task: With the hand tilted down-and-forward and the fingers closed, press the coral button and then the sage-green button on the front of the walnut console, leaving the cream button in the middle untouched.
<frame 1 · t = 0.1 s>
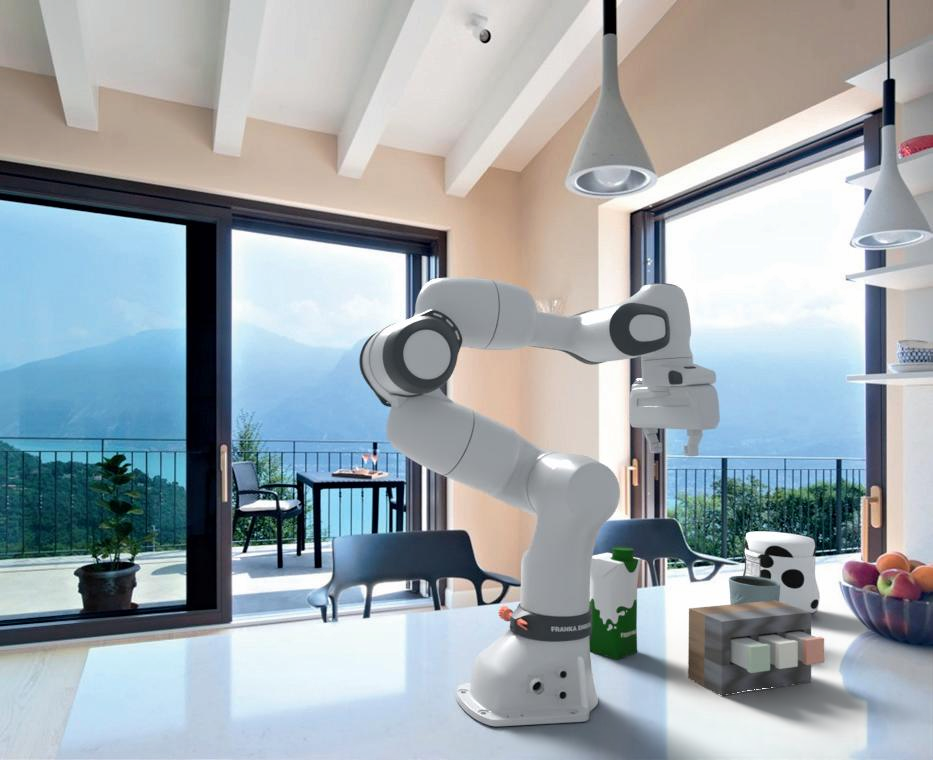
hand: (673, 454, 118), 39 cm above the kitchen island, tool pointing down, fingers open, 8 cm apart
console: (749, 680, 117), on the kitchen island
coral button: (803, 646, 115), point 7 cm above the kitchen island, slide at 0.0 cm
sage button: (749, 653, 110), point 7 cm above the kitchen island, slide at 0.0 cm
blue-grey cup: (753, 639, 141), on the kitchen island
milk carton: (611, 652, 130), on the kitchen island
milk container: (779, 612, 162), on the kitchen island
cream button: (776, 650, 112), point 7 cm above the kitchen island, slide at 0.0 cm
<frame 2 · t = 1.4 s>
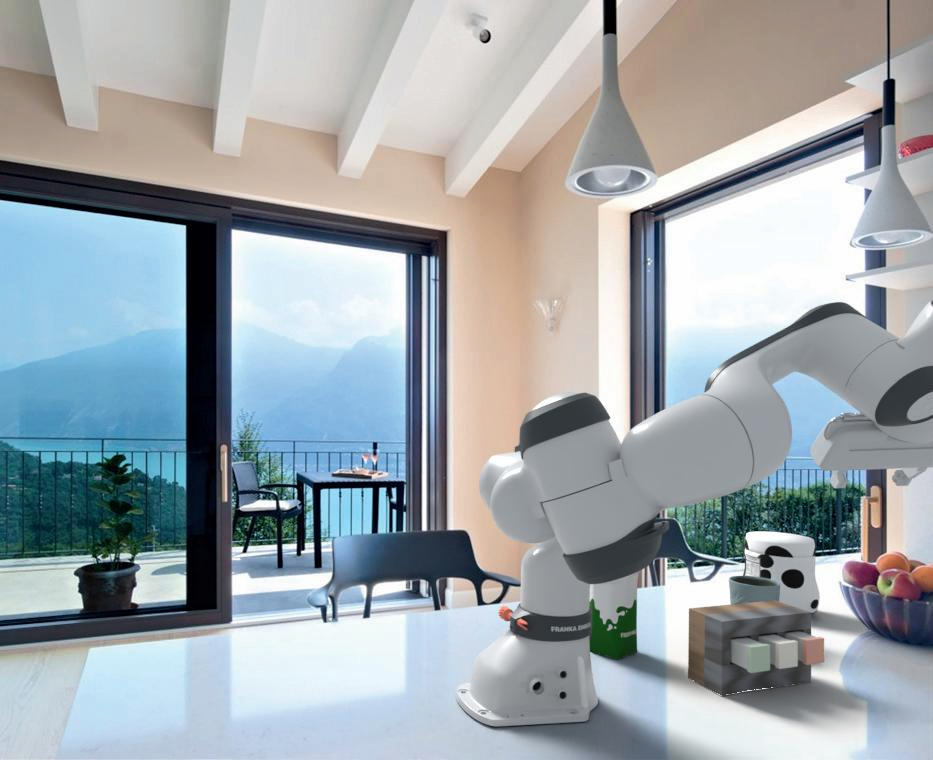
hand: (868, 483, 98), 36 cm above the kitchen island, tool tilted 40°, fingers open, 8 cm apart
nothing on the kitchen island moved.
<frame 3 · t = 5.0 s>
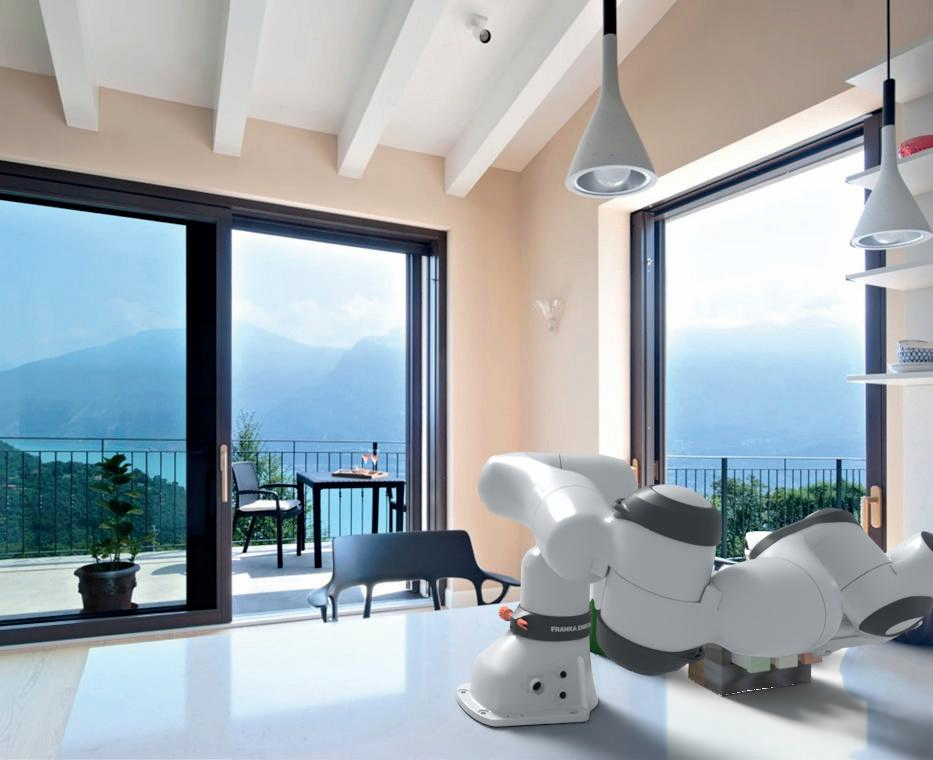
hand: (817, 653, 112), 7 cm above the kitchen island, tool tilted 45°, fingers closed, pressing on coral button
coral button: (801, 646, 115), point 7 cm above the kitchen island, slide at 0.3 cm, touching gripper
everything else where it was.
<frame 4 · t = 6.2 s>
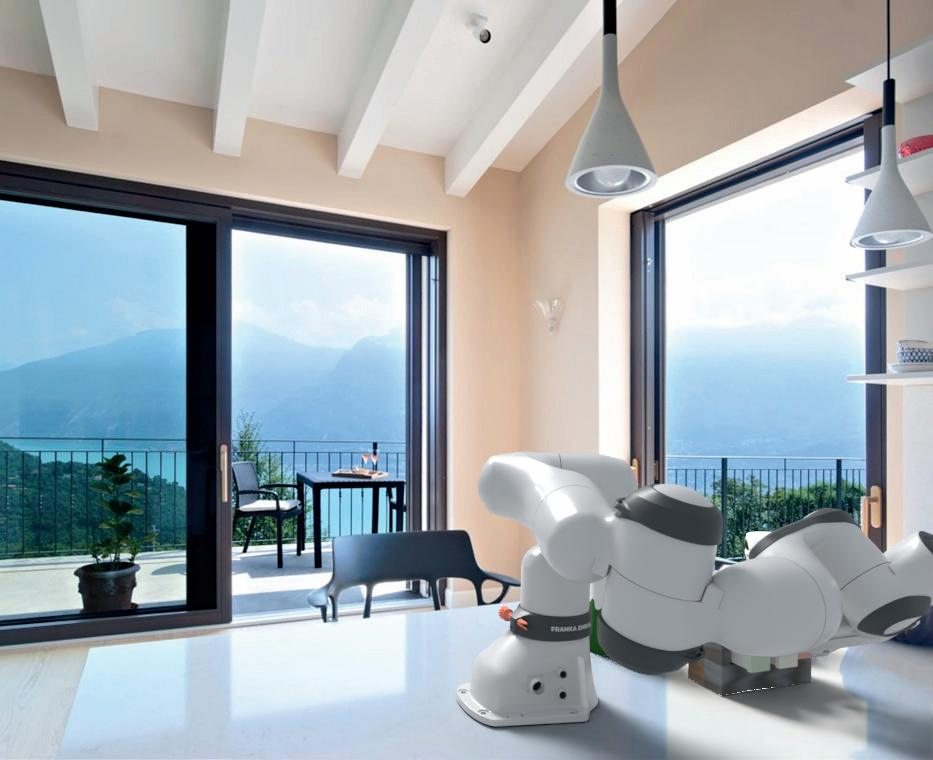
hand: (815, 652, 112), 7 cm above the kitchen island, tool tilted 45°, fingers closed
coral button: (791, 642, 117), point 7 cm above the kitchen island, slide at 2.5 cm
everything else where it was.
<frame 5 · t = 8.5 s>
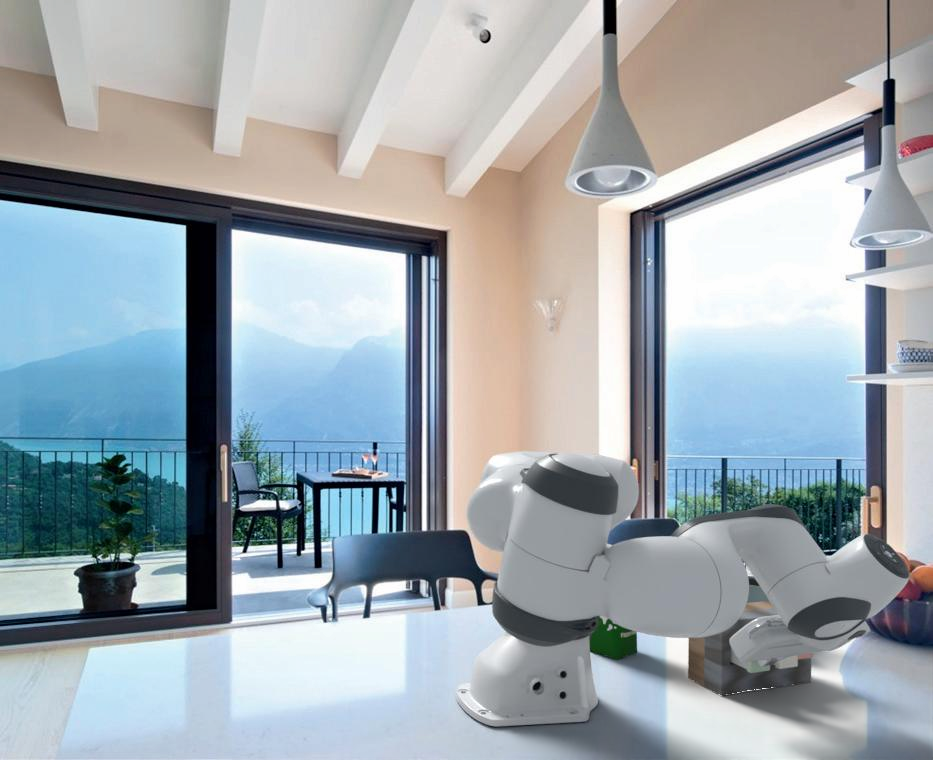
hand: (764, 661, 107), 7 cm above the kitchen island, tool tilted 45°, fingers closed, pressing on sage button
sage button: (749, 653, 110), point 7 cm above the kitchen island, slide at 0.0 cm, touching gripper
everything else where it was.
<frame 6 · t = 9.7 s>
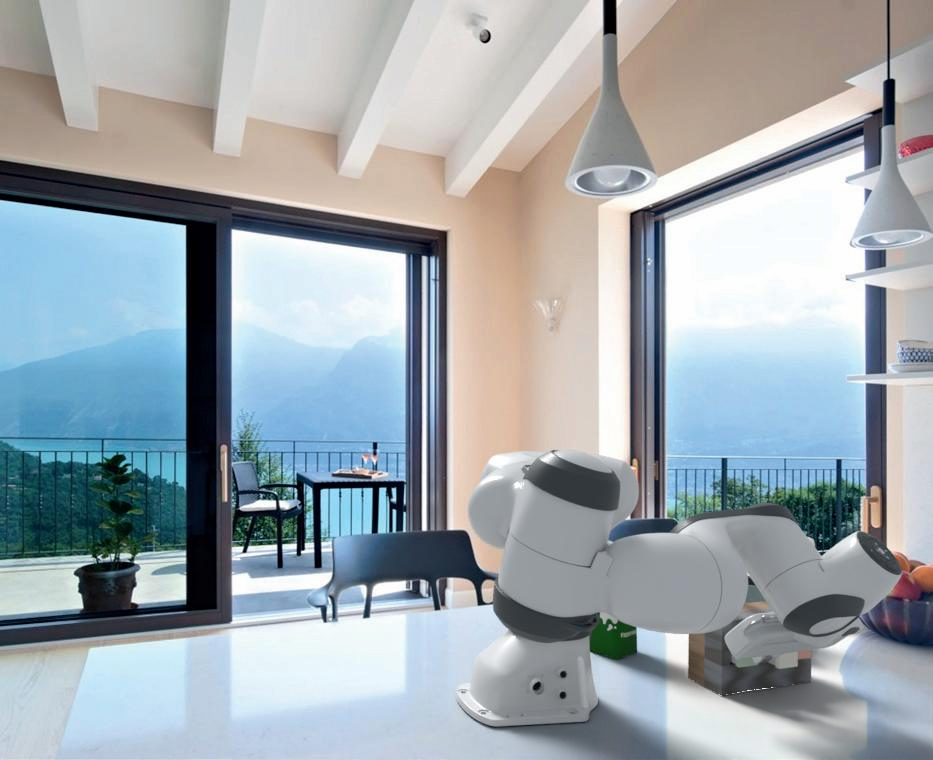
hand: (759, 658, 108), 7 cm above the kitchen island, tool tilted 45°, fingers closed
sage button: (737, 649, 112), point 7 cm above the kitchen island, slide at 2.5 cm
everything else where it was.
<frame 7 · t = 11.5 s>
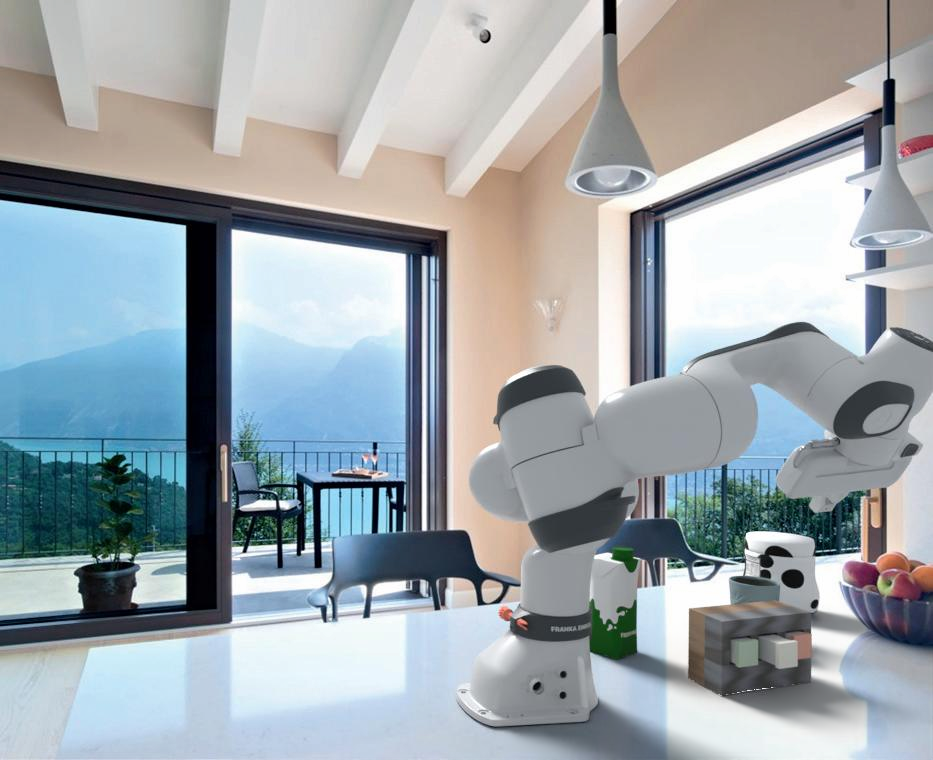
hand: (819, 509, 101), 32 cm above the kitchen island, tool tilted 35°, fingers closed
nothing on the kitchen island moved.
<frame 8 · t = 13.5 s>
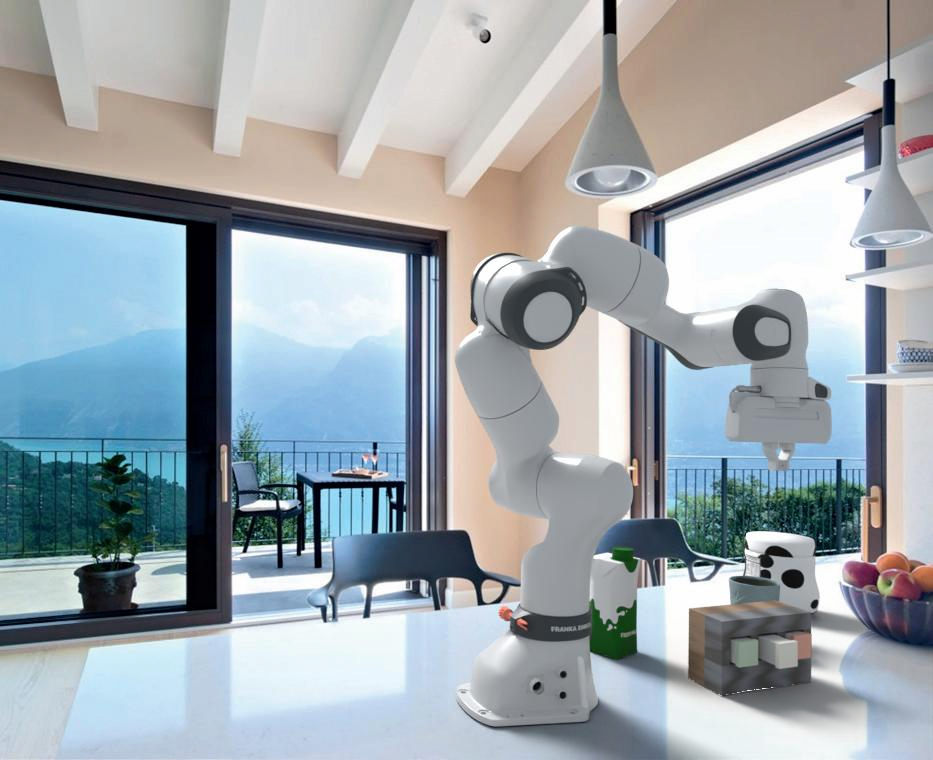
hand: (778, 470, 111), 37 cm above the kitchen island, tool pointing down, fingers closed
nothing on the kitchen island moved.
at the end: coral button slide at 2.5 cm; sage button slide at 2.5 cm; cream button slide at 0.0 cm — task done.
